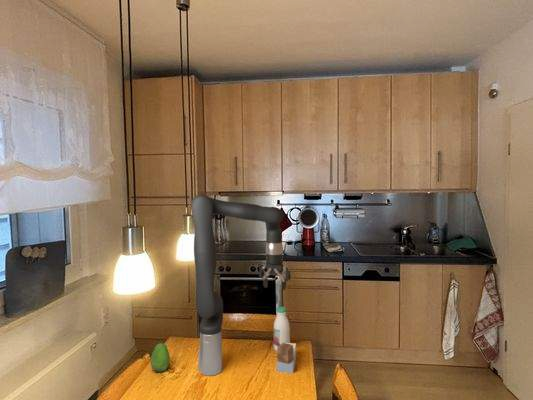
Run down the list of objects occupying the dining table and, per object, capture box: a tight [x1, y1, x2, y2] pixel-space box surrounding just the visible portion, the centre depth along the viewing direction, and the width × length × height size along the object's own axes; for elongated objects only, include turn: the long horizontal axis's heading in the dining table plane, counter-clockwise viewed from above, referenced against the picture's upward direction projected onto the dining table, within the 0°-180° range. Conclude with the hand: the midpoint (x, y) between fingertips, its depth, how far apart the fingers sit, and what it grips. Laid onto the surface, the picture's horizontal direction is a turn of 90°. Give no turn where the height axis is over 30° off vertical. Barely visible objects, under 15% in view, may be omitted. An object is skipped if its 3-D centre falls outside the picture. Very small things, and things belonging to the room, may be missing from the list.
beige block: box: [286, 342, 297, 360], centre depth 158 cm, size 5×5×6 cm
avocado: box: [150, 342, 171, 373], centre depth 149 cm, size 8×8×12 cm
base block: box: [276, 356, 296, 374], centre depth 150 cm, size 7×7×4 cm
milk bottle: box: [273, 306, 291, 352], centre depth 167 cm, size 8×8×20 cm
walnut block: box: [276, 343, 293, 364], centre depth 150 cm, size 5×5×6 cm
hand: (274, 288), depth 154 cm, fingers open, 8 cm apart
